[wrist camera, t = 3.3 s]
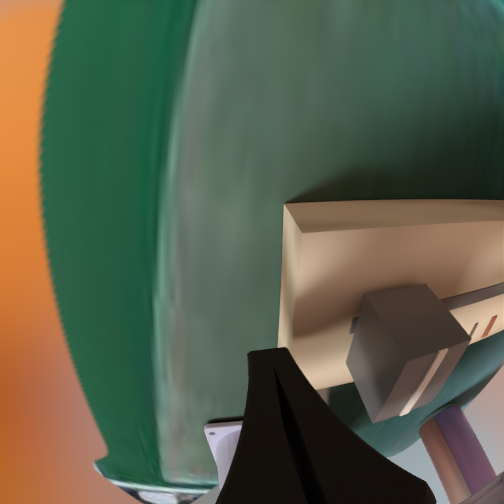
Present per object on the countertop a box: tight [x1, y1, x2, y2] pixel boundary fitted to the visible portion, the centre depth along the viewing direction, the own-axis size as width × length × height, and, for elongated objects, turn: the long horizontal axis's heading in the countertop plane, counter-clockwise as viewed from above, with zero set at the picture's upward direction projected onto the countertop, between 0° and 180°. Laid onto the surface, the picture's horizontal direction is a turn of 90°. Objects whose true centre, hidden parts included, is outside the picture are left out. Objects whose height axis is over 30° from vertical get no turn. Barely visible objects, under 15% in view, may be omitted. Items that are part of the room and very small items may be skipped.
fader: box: [346, 283, 472, 424], centre depth 10 cm, size 4×3×4 cm
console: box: [278, 199, 504, 390], centre depth 14 cm, size 9×20×3 cm, turn 91°
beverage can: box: [418, 403, 496, 504], centre depth 22 cm, size 6×6×15 cm
